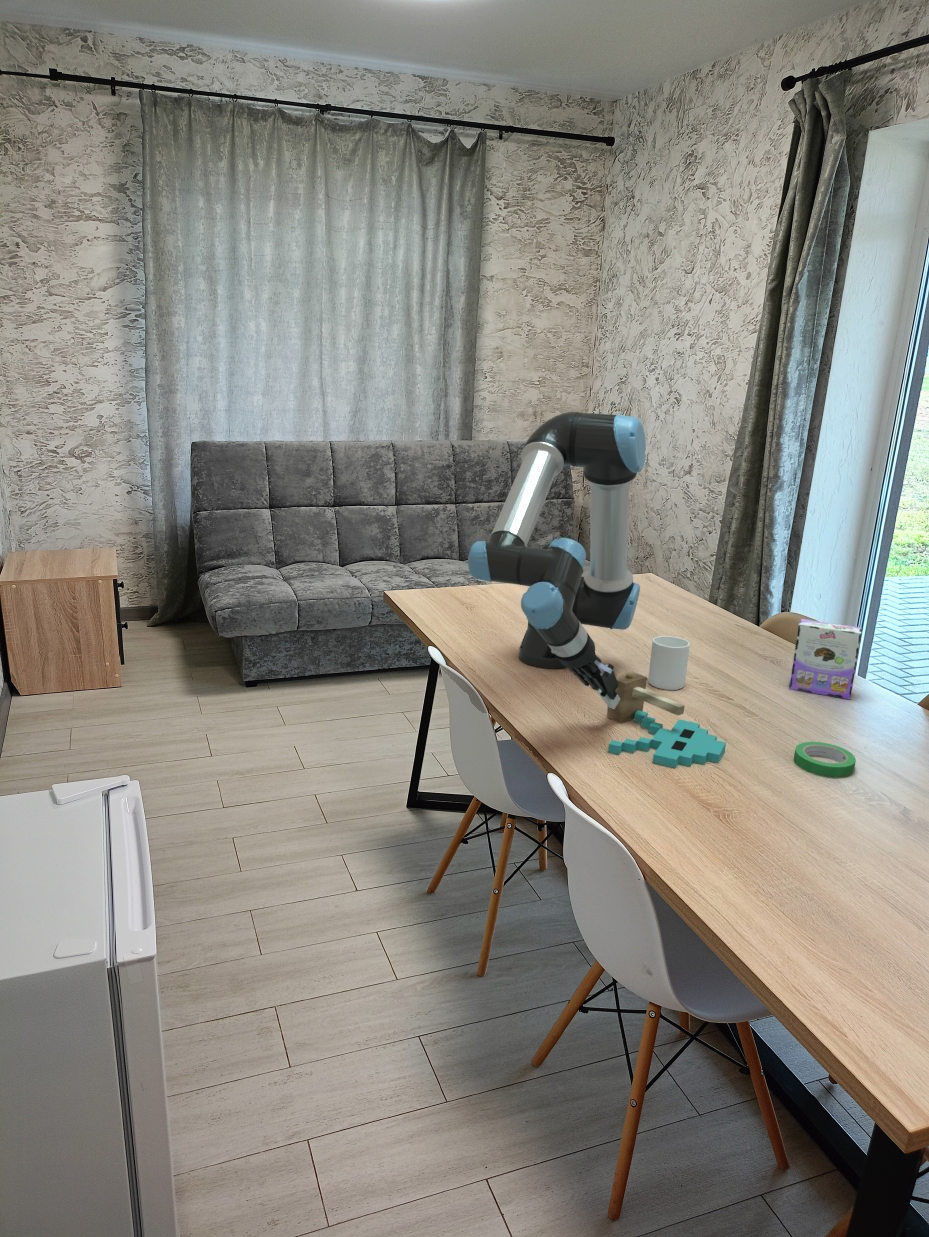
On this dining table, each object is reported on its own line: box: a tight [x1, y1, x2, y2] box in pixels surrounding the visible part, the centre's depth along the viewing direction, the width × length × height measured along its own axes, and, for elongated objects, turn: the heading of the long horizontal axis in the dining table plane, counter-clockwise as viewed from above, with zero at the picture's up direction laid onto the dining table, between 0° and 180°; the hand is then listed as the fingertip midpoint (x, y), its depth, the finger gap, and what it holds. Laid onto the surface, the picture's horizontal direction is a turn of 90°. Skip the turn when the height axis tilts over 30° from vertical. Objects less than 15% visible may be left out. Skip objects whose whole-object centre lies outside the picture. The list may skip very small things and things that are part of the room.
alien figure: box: [607, 710, 727, 769], centre depth 182 cm, size 20×2×20 cm
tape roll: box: [793, 741, 857, 779], centre depth 176 cm, size 11×11×3 cm
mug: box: [648, 635, 691, 691], centre depth 215 cm, size 9×12×11 cm
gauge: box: [606, 671, 685, 724], centre depth 189 cm, size 16×7×10 cm, turn 40°
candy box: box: [788, 618, 863, 700], centre depth 213 cm, size 14×6×16 cm, turn 65°
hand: (614, 702), depth 190 cm, fingers closed
